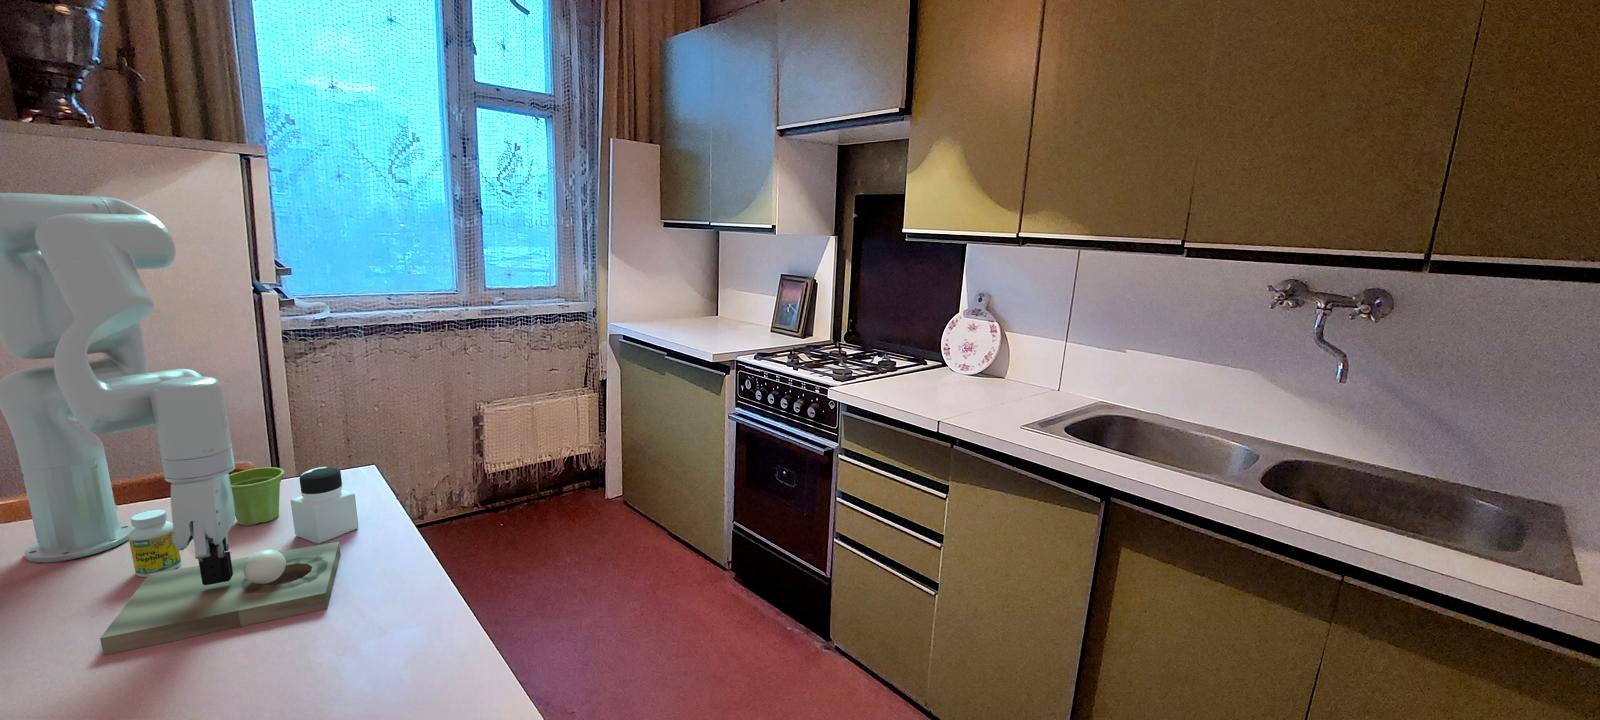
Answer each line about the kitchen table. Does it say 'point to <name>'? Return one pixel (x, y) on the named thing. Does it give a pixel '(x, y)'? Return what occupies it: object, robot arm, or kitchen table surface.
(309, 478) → the medicine bottle
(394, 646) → the kitchen table surface
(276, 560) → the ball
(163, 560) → the supplement bottle
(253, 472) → the plant pot
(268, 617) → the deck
